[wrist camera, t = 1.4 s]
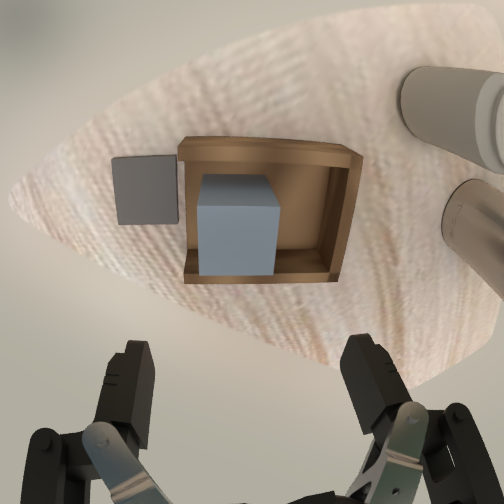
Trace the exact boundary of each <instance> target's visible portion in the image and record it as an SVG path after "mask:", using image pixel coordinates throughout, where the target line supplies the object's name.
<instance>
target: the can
mask: <svg viewBox="0 0 504 504" xmlns="http://www.w3.org/2000/svg"><path fill="white" fill-rule="evenodd" d="M401 109H402V114H403V118H404V120H405V122H406V124H407V126H408V128H409V129H410V130H411V132H412V133H413V134H414V135H415V136H416V137H418V138H419V139H421V140H423V141H425V142H427V143H430V144H432V145H435V146H437V147H440V148H442V149H444V150H447V151H449V152H451V153H454V154H456V155H458V156H460V157H463V158H465V159H467V160H469V161H471V162H473V163H475V164H477V165H479V166H481V167H483V168H485V169H487V170H489V171H491V172H493V173H497V174H502V175H503V174H504V73H499V72H492V71H484V70H475V69H465V68H452V67H431V66H429V67H419V68H418V69H416V70H414V71H412V72H411V73H410V75H409V76H408V77H407V78H406V80H405V82H404V85H403V88H402V91H401Z"/></svg>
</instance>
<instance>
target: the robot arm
mask: <svg viewBox="0 0 504 504" xmlns="http://www.w3.org/2000/svg"><path fill="white" fill-rule="evenodd" d="M442 232H443V237H444V240H445V242H446V243H447V245H448V246H450V247H451V248H452V249H453V250H454V251H455V252H456V253H457V254H458V255H459V256H460V257H461V258H462V259H463V260H465V261H466V263H467V264H468V265H469V266H470V267H472V268H473V269H474V270H475V271H476V272H477V273H478V274H479V275H480V276H481V277H482V278H483V280H484V281H485V282H486V283H487V284H488V285H489V286H490V287H491V288H492V289H493V290H494V291H495V292H496V293H497V294H498V295H499V296H500V298H501V299H502V300H503V301H504V193H502V192H501V191H499V190H497V189H496V188H494V187H492V186H491V185H489V184H487V183H485V182H484V181H482V180H478V179H474V180H470V181H467V182H465V183H464V184H463V185H461V186H460V187H459V188H458V189H457V190H456V191H455V193H454V194H453V195H452V197H451V199H450V200H449V202H448V204H447V207H446V210H445V212H444V217H443V222H442ZM340 370H341V373H342V376H343V379H344V381H345V384H346V387H347V390H348V392H349V395H350V398H351V401H352V403H353V406H354V409H355V412H356V414H357V417H358V420H359V423H360V426H361V429H362V432H363V434H364V435H366V434H370V433H373V435H374V439H373V441H372V443H371V445H370V448H369V451H368V453H367V455H366V458H365V460H364V463H363V465H362V467H361V469H360V472H359V474H358V476H357V478H356V479H355V481H354V482H353V483H352V485H351V486H350V488H349V489H348V491H347V493H346V495H345V496H339V495H335V493H334V491H330V492H326V493H321V494H316V495H311V496H306V497H303V498H301V499H298V500H296V501H293V502H291V503H288V504H412V503H413V500H414V497H415V494H416V491H417V488H418V485H419V482H420V479H421V475H422V473H423V476H424V479H425V483H426V486H427V489H428V493H429V497H430V500H431V504H504V496H503V493H502V490H501V487H500V484H499V481H498V478H497V475H496V473H495V470H494V467H493V465H492V462H491V459H490V457H489V454H488V452H487V449H486V447H485V444H484V442H483V440H482V437H481V435H480V433H479V430H478V428H477V426H476V424H475V421H474V419H473V417H472V415H471V413H470V411H469V409H468V408H467V407H466V406H465V405H463V404H461V403H452V404H450V405H449V406H448V407H447V408H446V409H445V410H426V409H425V407H424V406H423V405H421V404H420V403H418V402H413V400H412V399H411V397H410V395H409V393H408V391H407V389H406V387H405V385H404V383H403V381H402V379H401V377H400V375H399V373H398V372H397V369H396V367H395V365H394V364H393V361H392V359H391V357H390V355H389V353H388V352H387V351H386V350H385V349H384V348H383V347H382V346H381V345H380V344H376V345H375V344H374V342H373V340H372V338H371V336H370V335H369V334H368V333H366V334H357V335H351V336H350V337H349V339H348V341H347V344H346V346H345V349H344V352H343V354H342V356H341V360H340ZM154 382H155V367H154V362H153V359H152V355H151V352H150V348H149V344H148V342H147V341H135V340H134V341H133V340H129V341H128V342H127V345H126V349H125V353H116V354H115V355H114V356H113V357H112V359H111V360H110V361H109V362H108V366H107V370H106V376H105V377H104V381H103V385H102V389H101V393H100V397H99V401H98V406H97V410H96V414H95V418H94V421H93V423H92V424H90V425H89V426H88V427H87V428H86V429H85V430H83V431H81V432H77V433H69V434H60V435H59V434H58V433H56V432H55V431H54V430H52V429H50V428H41V429H39V430H37V431H35V432H34V433H33V435H32V436H31V439H30V443H29V448H28V453H27V458H26V464H25V471H24V476H23V484H22V492H21V502H20V504H90V485H91V484H90V483H91V480H95V479H102V480H103V481H104V483H105V485H106V486H107V488H108V489H109V491H110V493H111V499H112V501H113V502H114V504H173V503H172V502H171V501H170V500H169V499H168V497H167V496H166V495H165V494H164V493H163V491H162V490H161V489H160V488H159V486H158V485H157V484H156V483H155V481H154V480H153V479H152V477H151V476H150V475H149V473H148V472H147V471H146V470H145V468H144V467H143V465H142V464H141V463H140V461H139V460H138V456H139V449H147V445H148V433H149V424H150V415H151V406H152V397H153V389H154ZM447 445H448V448H449V451H450V453H451V456H452V459H453V461H454V464H455V467H454V464H453V461H452V459H451V456H450V453H449V451H448V448H447ZM242 504H246V503H242Z"/></svg>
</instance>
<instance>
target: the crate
mask: <svg viewBox="0 0 504 504" xmlns="http://www.w3.org/2000/svg"><path fill="white" fill-rule="evenodd" d="M363 158H364V157H363V156H362V155H360V154H358V153H356V152H354V151H352V150H351V149H349V148H347V147H345V146H343V145H341V144H332V143H323V142H313V141H302V140H290V139H275V138H256V137H219V136H197V137H185V138H184V139H183V141H182V142H181V143H180V145H179V146H178V161H185V200H186V226H187V246H188V250H187V256H186V262H185V268H184V284H276V283H320V282H338V278H339V275H340V271H341V266H342V262H343V258H344V254H345V250H346V245H347V241H348V237H349V232H350V227H351V223H352V218H353V213H354V208H355V203H356V198H357V192H358V187H359V181H360V176H361V170H362V164H363ZM203 174H254V175H265V176H266V178H267V180H268V182H269V184H270V186H271V188H272V190H273V192H274V194H275V196H276V198H277V200H278V202H279V205H280V207H281V208H280V217H279V227H278V236H277V245H276V255H275V263H274V272H273V275H250V276H199V257H198V228H197V203H198V198H199V193H200V188H201V183H202V178H203Z"/></svg>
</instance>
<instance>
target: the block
mask: <svg viewBox="0 0 504 504" xmlns="http://www.w3.org/2000/svg"><path fill="white" fill-rule="evenodd" d="M280 208H281V207H280V205H279V202H278V200H277V198H276V196H275V194H274V192H273V190H272V188H271V186H270V184H269V182H268V180H267V178H266V176H265V175H254V174H203V178H202V183H201V188H200V193H199V198H198V203H197V228H198V257H199V276H250V275H273V272H274V263H275V255H276V245H277V236H278V227H279V217H280Z"/></svg>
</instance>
